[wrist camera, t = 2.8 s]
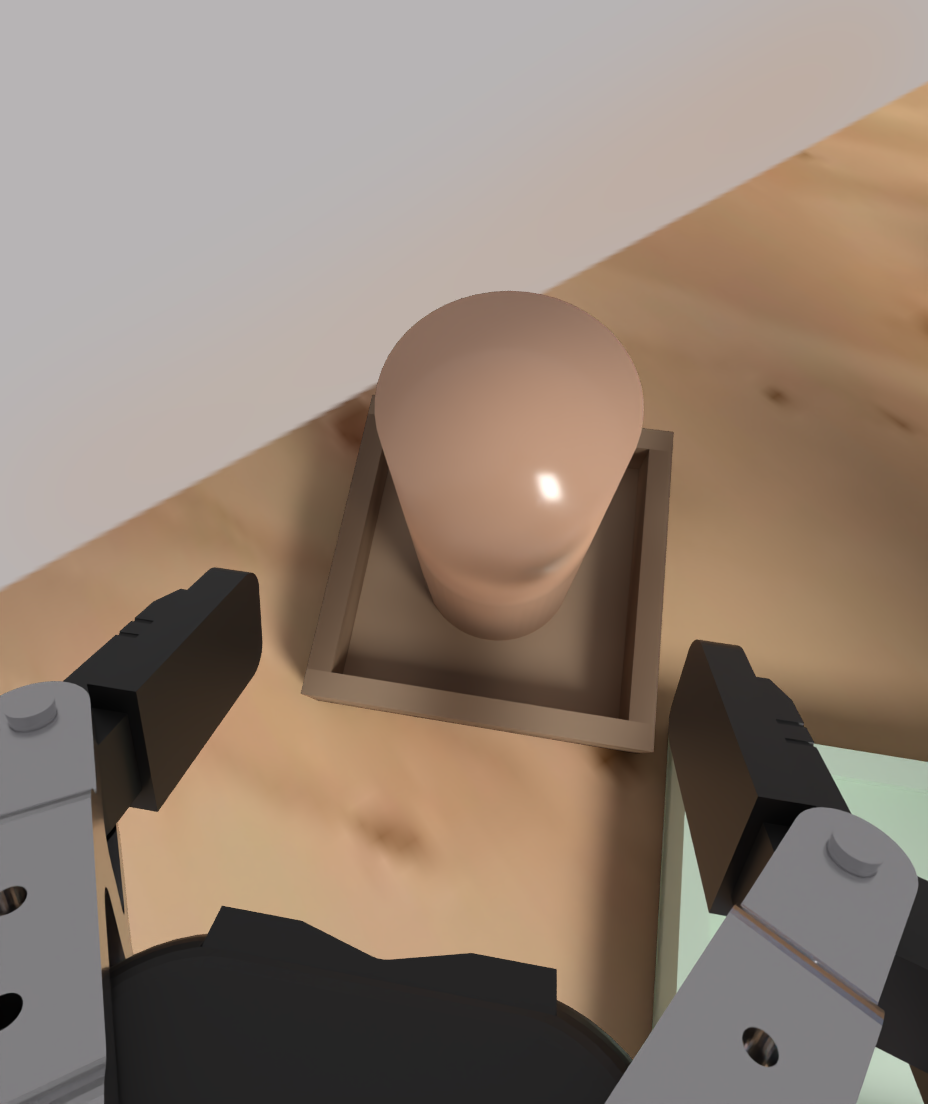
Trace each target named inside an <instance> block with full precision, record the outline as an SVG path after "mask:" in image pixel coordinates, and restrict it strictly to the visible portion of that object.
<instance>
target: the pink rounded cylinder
mask: <svg viewBox="0 0 928 1104" xmlns="http://www.w3.org/2000/svg"><path fill="white" fill-rule="evenodd" d="M643 418H644V399H643V392H642V385H641V382H640V379H639V376H638V372H637V370H636V368H635V366H634V363H633V361H632V359H631V357H630V356H629V354H628V352H627V351H626V349H625V348H624V346H623V345H622V343H621V342H620V341H619V340H618V339H617V338H616V337H615V335H614V334H613V333H612V332H611V331H610V330H609V329H608V328H607V327H605V326H604V325H603V324H602V323H601V322H600V321H598V320H597V319H595V318H594V317H593V316H591V315H590V314H588V313H587V312H585V311H583V310H581V309H579V308H578V307H576V306H574V305H572V304H569V303H567V302H564V301H562V300H559V299H556V298H553V297H549V296H545V295H542V294H536V293H529V292H519V291H500V292H489V293H482V294H477V295H472V296H469V297H465V298H461V299H459V300H456V301H454V302H451V303H449V304H446V305H444V306H443V307H440V308H439V309H437V310H435V311H433V312H431V313H430V314H429V315H427V316H425V317H424V318H422V319H421V320H420V321H418V322H417V323H416V324H415V325H414V326H413V327H411V329H409V330H408V331H407V332H406V333H405V334H404V336H403V337H402V338H401V339H400V340H399V341H398V342H397V344H396V345H395V347H394V348H393V350H392V351H391V353H390V354H389V356H388V358H387V360H386V362H385V364H384V366H383V368H382V371H381V374H380V377H379V380H378V383H377V389H376V395H375V420H376V428H377V432H378V435H379V439H380V442H381V445H382V448H383V451H384V455H385V458H386V461H387V464H388V467H389V470H390V473H391V476H392V479H393V482H394V485H395V489H396V492H397V495H398V498H399V501H400V504H401V507H402V510H403V513H404V516H405V519H406V523H407V526H408V529H409V532H410V535H411V538H412V541H413V544H414V547H415V550H416V553H417V556H418V560H419V563H420V566H421V569H422V572H423V575H424V578H425V581H426V584H427V587H428V590H429V594H430V596H431V598H432V600H433V603H434V604H435V606H436V607H437V609H438V611H439V612H440V613H441V614H442V615H443V617H444V618H445V619H446V620H447V621H448V622H450V623H451V624H452V625H453V626H455V627H456V628H458V629H459V630H461V631H463V632H465V633H466V634H469V635H471V636H474V637H477V638H481V639H485V640H495V641H501V640H511V639H516V638H520V637H523V636H526V635H528V634H530V633H532V632H534V631H536V630H538V629H539V628H541V627H542V626H544V625H545V624H546V623H547V622H548V621H549V620H550V619H551V618H552V617H553V616H554V615H555V614H556V613H557V611H558V610H559V608H560V607H561V605H562V603H563V601H564V599H565V597H566V595H567V593H568V591H569V588H570V586H571V584H572V582H573V580H574V578H575V576H576V574H577V572H578V569H579V567H580V565H581V563H582V561H583V559H584V557H585V555H586V553H587V550H588V548H589V546H590V544H591V542H592V540H593V538H594V536H595V534H596V532H597V529H598V527H599V525H600V523H601V521H602V519H603V517H604V515H605V513H606V510H607V508H608V506H609V504H610V502H611V500H612V498H613V496H614V494H615V491H616V489H617V487H618V485H619V483H620V481H621V479H622V477H623V475H624V472H625V470H626V468H627V466H628V464H629V462H630V460H631V458H632V456H633V453H634V451H635V449H636V447H637V444H638V441H639V438H640V435H641V431H642V425H643Z"/></svg>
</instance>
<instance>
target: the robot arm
mask: <svg viewBox="0 0 928 1104" xmlns="http://www.w3.org/2000/svg"><path fill="white" fill-rule="evenodd" d="M261 653H262V628H261V613H260V597H259V583H258V579H257V577H256V575H255V574H254V573H249V572H243V571H236V570H229V569H222V568H211V569H210V570H208V571H207V572H206V573H205V574H204V575H203V576H202V577H201V578H200V579H199V580H197V581H196V582H195V583H194V584H193V585H192V586H191V587H190V588H189V589H188V590H184V589H179V590H177V591H175V592H173V593H171V594H169V595H166V596H164V597H162V598H160V599H158V600H156V601H154V602H153V603H151V604H150V605H149V606H148V607H147V608H146V609H145V610H143V611H142V612H141V613H140V614H139V615H138V616H137V617H135V621H131V622H130V623H129V624H128V625H126V626H125V627H124V628H123V629H122V630H121V631H120V633H119V635H115V636H114V637H113V638H112V639H111V640H109V641H108V642H107V643H106V644H105V645H104V646H103V647H101V648H100V649H99V650H98V651H97V652H96V653H95V654H93V655H92V656H91V657H90V658H89V659H88V660H87V661H86V662H84V663H83V664H82V665H81V666H80V667H79V668H78V669H76V670H75V671H74V672H73V673H72V674H71V675H70V676H69V677H67V678H66V679H65V680H64V681H63V682H61V681H50V682H41V683H35V684H30V685H26V686H23V687H20V688H17V689H14V690H12V691H9V692H7V693H5V694H3V695H1V696H0V1104H856V1103H857V1100H858V1097H859V1094H860V1091H861V1088H862V1085H863V1082H864V1079H865V1076H866V1073H867V1070H868V1067H869V1064H870V1061H871V1058H872V1055H873V1052H874V1049H875V1047H877V1048H878V1049H880V1050H882V1051H884V1052H886V1053H888V1054H890V1055H892V1056H894V1057H896V1058H898V1059H900V1060H902V1061H904V1062H906V1063H908V1064H909V1066H910V1069H911V1071H912V1074H913V1076H914V1079H915V1082H916V1084H917V1087H918V1089H919V1092H920V1095H921V1097H922V1100H923V1102H924V1104H928V881H927V880H925V879H923V878H921V877H918V876H917V874H916V871H915V868H914V866H913V864H912V863H911V861H910V859H909V858H908V856H907V855H906V854H905V852H904V851H903V850H902V849H901V848H900V847H899V845H898V844H897V843H896V842H895V841H893V840H892V839H891V838H890V837H889V836H888V835H887V834H885V833H884V832H883V831H881V830H880V829H879V828H877V827H876V826H874V825H872V824H871V823H869V822H867V821H866V820H864V819H862V818H860V817H858V816H855V815H853V814H851V812H850V810H849V808H848V806H847V804H846V802H845V800H844V798H843V797H842V795H841V793H840V791H839V789H838V787H837V785H836V783H835V781H834V779H833V778H832V776H831V774H830V772H829V770H828V768H827V766H826V764H825V762H824V760H823V758H822V757H821V755H820V753H819V751H818V749H817V747H814V741H813V739H812V738H811V736H810V734H809V732H808V730H807V728H805V727H804V722H803V720H802V719H801V717H800V715H799V713H798V711H797V709H796V707H795V705H794V703H793V701H792V700H791V699H790V698H789V697H788V696H787V695H786V694H785V693H784V692H783V691H781V690H780V689H779V688H778V687H777V686H776V685H775V684H774V683H773V682H772V681H771V680H770V679H766V678H760V677H756V676H755V674H754V672H753V670H752V668H751V665H750V663H749V661H748V659H747V657H746V655H745V653H744V651H743V649H742V648H741V647H740V646H737V645H730V644H724V643H717V642H710V641H703V640H695V641H694V642H693V643H692V644H691V646H690V648H689V651H688V654H687V658H686V661H685V664H684V667H683V671H682V674H681V677H680V681H679V684H678V687H677V690H676V694H675V697H674V700H673V703H672V707H671V711H670V716H669V728H668V734H669V743H670V748H671V752H672V757H673V761H674V765H675V770H676V774H677V778H678V782H679V787H680V791H681V795H682V800H683V804H684V808H685V813H686V817H687V821H688V825H689V830H690V834H691V838H692V843H693V847H694V851H695V856H696V860H697V864H698V868H699V873H700V877H701V881H702V886H703V890H704V894H705V899H706V903H707V907H708V912H709V913H711V914H717V915H722V916H726V918H725V919H724V921H723V922H722V924H721V925H720V927H719V929H718V930H717V932H716V933H715V935H714V936H713V938H712V939H711V941H710V942H709V944H708V945H707V947H706V949H705V950H704V952H703V953H702V955H701V956H700V958H699V959H698V961H697V962H696V964H695V965H694V967H693V968H692V970H691V972H690V973H689V975H688V976H687V978H686V979H685V981H684V982H683V984H682V985H681V987H680V988H679V990H678V992H677V993H676V995H675V996H674V998H673V999H672V1001H671V1002H670V1004H669V1005H668V1007H667V1008H666V1010H665V1012H664V1013H663V1015H662V1016H661V1018H660V1019H659V1021H658V1022H657V1024H656V1025H655V1027H654V1028H653V1030H652V1032H651V1033H650V1035H649V1036H648V1038H647V1039H646V1041H645V1042H644V1044H643V1045H642V1047H641V1048H640V1050H639V1051H638V1053H637V1055H636V1056H635V1058H634V1059H633V1060H632V1059H631V1057H630V1056H629V1055H628V1054H627V1053H626V1052H625V1051H624V1050H623V1049H622V1048H621V1047H620V1046H619V1045H618V1044H617V1043H616V1042H615V1041H614V1040H613V1039H612V1038H611V1037H610V1036H609V1035H608V1034H607V1033H605V1032H604V1031H603V1030H602V1029H601V1028H599V1027H598V1026H597V1025H596V1024H594V1023H593V1022H592V1021H591V1020H589V1019H588V1018H586V1017H585V1016H583V1015H582V1014H580V1013H579V1012H577V1011H576V1010H574V1009H573V1008H571V1007H569V1006H567V1005H565V1004H563V1003H562V1002H560V1001H558V1000H557V969H553V968H547V967H542V966H537V965H532V964H526V963H521V962H516V961H510V960H505V959H500V958H495V957H489V956H484V955H479V954H474V953H468V954H455V955H443V956H430V957H418V958H405V959H393V960H383V959H377V958H375V957H372V956H370V955H368V954H366V953H364V952H362V951H360V950H358V949H356V948H354V947H352V946H350V945H348V944H346V943H344V942H342V941H340V940H338V939H336V938H334V937H333V936H331V935H329V934H327V933H325V932H323V931H321V930H319V929H317V928H315V927H313V926H311V925H309V924H307V923H305V922H303V921H300V920H294V919H289V918H284V917H278V916H273V915H268V914H263V913H257V912H252V911H247V910H242V909H236V908H231V907H226V906H222V907H221V909H220V911H219V913H218V915H217V917H216V919H215V921H214V923H213V925H212V927H211V929H210V931H209V933H208V934H202V935H195V936H190V937H185V938H180V939H175V940H172V941H169V942H166V943H163V944H159V945H156V946H153V947H151V948H149V949H146V950H144V951H142V952H139V953H137V954H135V955H133V949H132V943H131V935H130V927H129V917H128V907H127V898H126V888H125V878H124V869H123V859H122V849H121V839H120V832H119V827H118V823H117V822H118V821H119V820H120V818H121V817H122V816H123V814H124V813H125V812H126V810H127V809H128V808H129V807H133V808H139V809H145V810H150V811H156V812H158V811H159V809H160V808H161V806H162V805H163V804H164V802H165V801H166V799H167V798H168V796H169V795H170V794H171V792H172V791H173V789H174V788H175V787H176V785H177V784H178V782H179V781H180V779H181V778H182V777H183V775H184V774H185V772H186V771H187V769H188V768H189V767H190V765H191V764H192V762H193V761H194V760H195V758H196V757H197V755H198V754H199V752H200V751H201V750H202V748H203V747H204V745H205V744H206V743H207V741H208V740H209V738H210V737H211V735H212V734H213V733H214V731H215V730H216V728H217V727H218V725H219V724H220V723H221V721H222V720H223V718H224V717H225V716H226V714H227V713H228V711H229V710H230V708H231V707H232V706H233V704H234V703H235V701H236V700H237V698H238V697H239V696H240V694H241V693H242V691H243V690H244V689H245V687H246V686H247V684H248V683H249V681H250V680H251V679H252V677H253V676H254V674H255V672H256V670H257V668H258V665H259V662H260V658H261Z"/></svg>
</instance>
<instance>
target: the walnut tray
mask: <svg viewBox="0 0 928 1104" xmlns="http://www.w3.org/2000/svg"><path fill="white" fill-rule="evenodd" d="M673 434H674V432H669V431H661V430H653V429H645V428H642V431H641V435H640V438H639V441H638V444H637V447H636V449H635V451H634V453H633V456H632V458H631V460H630V462H629V464H628V466H627V468H626V470H625V472H624V475H623V477H622V479H621V481H620V483H619V485H618V487H617V489H616V491H615V494H614V496H613V498H612V500H611V502H610V504H609V506H608V508H607V510H606V513H605V515H604V517H603V519H602V521H601V523H600V525H599V527H598V529H597V532H596V534H595V536H594V538H593V540H592V542H591V544H590V546H589V548H588V550H587V553H586V555H585V557H584V559H583V561H582V563H581V565H580V567H579V569H578V572H577V574H576V576H575V578H574V580H573V582H572V584H571V586H570V588H569V591H568V593H567V595H566V597H565V599H564V601H563V603H562V605H561V607H560V608H559V610H558V611H557V613H556V614H555V615H554V616H553V617H552V618H551V619H550V620H549V621H548V622H547V623H546V624H545V625H544V626H542V627H541V628H539V629H538V630H536V631H534V632H532V633H530V634H528V635H526V636H523V637H520V638H516V639H511V640H501V641H495V640H485V639H481V638H477V637H474V636H471V635H469V634H466V633H465V632H463V631H461V630H459V629H458V628H456V627H455V626H453V625H452V624H451V623H450V622H448V621H447V620H446V619H445V618H444V617H443V615H442V614H441V613H440V612H439V611H438V609H437V607H436V606H435V604H434V603H433V600H432V598H431V596H430V594H429V590H428V587H427V584H426V581H425V578H424V575H423V572H422V569H421V566H420V563H419V560H418V556H417V553H416V550H415V547H414V544H413V541H412V538H411V535H410V532H409V529H408V526H407V523H406V519H405V516H404V513H403V510H402V507H401V504H400V501H399V498H398V495H397V492H396V489H395V485H394V482H393V479H392V476H391V473H390V470H389V467H388V464H387V461H386V458H385V455H384V451H383V448H382V445H381V442H380V439H379V435H378V432H377V428H376V420H375V395H372V399H371V404H370V408H369V412H368V416H367V420H366V424H365V429H364V433H363V437H362V441H361V445H360V449H359V453H358V458H357V462H356V466H355V470H354V474H353V478H352V483H351V487H350V491H349V495H348V499H347V503H346V507H345V512H344V516H343V520H342V524H341V528H340V532H339V536H338V541H337V545H336V549H335V553H334V557H333V561H332V566H331V570H330V574H329V578H328V582H327V586H326V590H325V595H324V599H323V603H322V607H321V611H320V615H319V620H318V624H317V628H316V632H315V636H314V640H313V644H312V649H311V653H310V657H309V661H308V665H307V669H306V674H305V678H304V682H303V686H302V690H301V694H303V695H306V696H308V697H311V698H313V699H316V700H318V701H324V702H330V703H336V704H342V705H348V706H354V707H360V708H367V709H373V710H379V711H385V712H391V713H397V714H403V715H409V716H415V717H421V718H427V719H433V720H439V721H445V722H451V723H457V724H463V725H469V726H475V727H481V728H487V729H493V730H499V731H505V732H511V733H517V734H523V735H529V736H535V737H541V738H547V739H553V740H559V741H565V742H571V743H577V744H583V745H589V746H595V747H601V748H607V749H613V750H619V751H625V752H631V753H648V752H654V737H655V721H656V705H657V689H658V673H659V657H660V641H661V625H662V609H663V593H664V578H665V562H666V546H667V530H668V514H669V498H670V482H671V466H672V450H673Z"/></svg>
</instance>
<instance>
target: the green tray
mask: <svg viewBox="0 0 928 1104" xmlns="http://www.w3.org/2000/svg"><path fill="white" fill-rule="evenodd" d="M814 747H817V749H818V751H819V753H820V755H821V757H822V758H823V760H824V762H825V764H826V766H827V768H828V770H829V772H830V774H831V776H832V778H833V779H834V781H835V783H836V785H837V787H838V789H839V791H840V793H841V795H842V797H843V798H844V800H845V802H846V804H847V806H848V808H849V810H850V812H851V814H853V815H855V816H858V817H860V818H862V819H864V820H866V821H867V822H869V823H871V824H872V825H874V826H876V827H877V828H879V829H880V830H881V831H883V832H884V833H885V834H887V835H888V836H889V837H890V838H891V839H892V840H893V841H895V842H896V843H897V844H898V845H899V847H900V848H901V849H902V850H903V851H904V852H905V854H906V855H907V856H908V858H909V859H910V861H911V863H912V864H913V866H914V868H915V871H916V874H917V876H918V877H921V878H923V879H925V880H927V881H928V762H924V761H918V760H912V759H906V758H899V757H893V756H887V755H881V754H875V753H868V752H862V751H856V750H850V749H844V748H837V747H831V746H825V745H819V744H814ZM725 918H726V916H722V915H717V914H711V913H709V912H708V907H707V903H706V899H705V894H704V890H703V886H702V881H701V877H700V873H699V868H698V864H697V860H696V856H695V851H694V847H693V843H692V838H691V834H690V830H689V825H688V821H687V817H686V813H685V808H684V804H683V800H682V795H681V791H680V787H679V782H678V778H677V774H676V770H675V765H674V761H673V757H672V752H671V748H670V743H669V734H668V752H667V770H666V788H665V806H664V824H663V842H662V859H661V877H660V895H659V913H658V931H657V949H656V967H655V985H654V1003H653V1021H652V1030H653V1028H654V1027H655V1025H656V1024H657V1022H658V1021H659V1019H660V1018H661V1016H662V1015H663V1013H664V1012H665V1010H666V1008H667V1007H668V1005H669V1004H670V1002H671V1001H672V999H673V998H674V996H675V995H676V993H677V992H678V990H679V988H680V987H681V985H682V984H683V982H684V981H685V979H686V978H687V976H688V975H689V973H690V972H691V970H692V968H693V967H694V965H695V964H696V962H697V961H698V959H699V958H700V956H701V955H702V953H703V952H704V950H705V949H706V947H707V945H708V944H709V942H710V941H711V939H712V938H713V936H714V935H715V933H716V932H717V930H718V929H719V927H720V925H721V924H722V922H723V921H724V919H725ZM856 1104H924V1102H923V1100H922V1097H921V1095H920V1092H919V1089H918V1087H917V1084H916V1082H915V1079H914V1076H913V1074H912V1071H911V1069H910V1066H909V1064H908V1063H906V1062H904V1061H902V1060H900V1059H898V1058H896V1057H894V1056H892V1055H890V1054H888V1053H886V1052H884V1051H882V1050H880V1049H878V1048H877V1047H875V1049H874V1052H873V1055H872V1058H871V1061H870V1064H869V1067H868V1070H867V1073H866V1076H865V1079H864V1082H863V1085H862V1088H861V1091H860V1094H859V1097H858V1100H857V1103H856Z"/></svg>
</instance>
